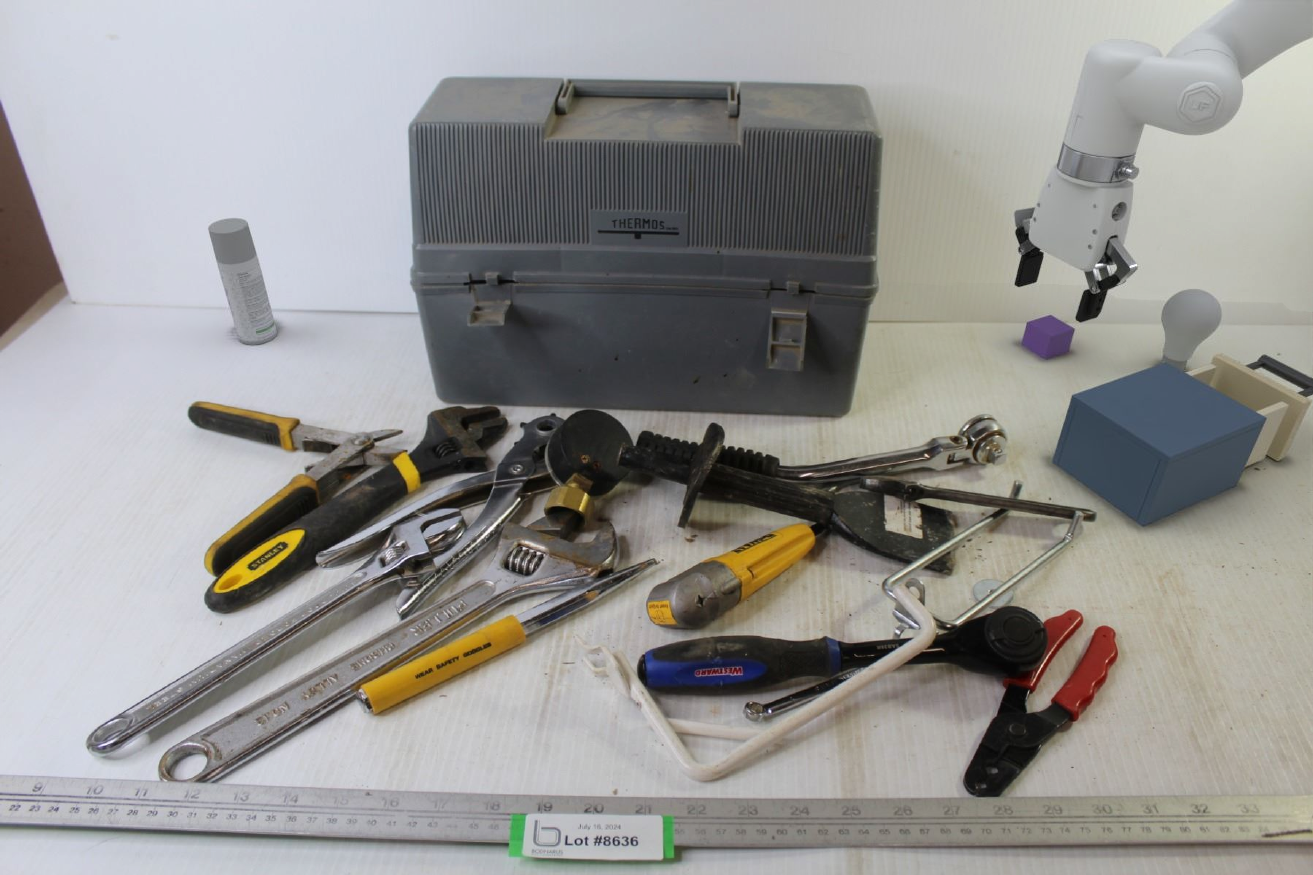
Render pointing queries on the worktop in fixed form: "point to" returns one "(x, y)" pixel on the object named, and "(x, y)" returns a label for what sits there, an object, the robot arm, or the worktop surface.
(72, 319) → the worktop surface
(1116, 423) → the blue drawer cabinet
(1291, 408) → the cream drawer
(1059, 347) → the purple cube
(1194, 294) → the lightbulb
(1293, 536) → the worktop surface
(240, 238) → the container
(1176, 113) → the robot arm
